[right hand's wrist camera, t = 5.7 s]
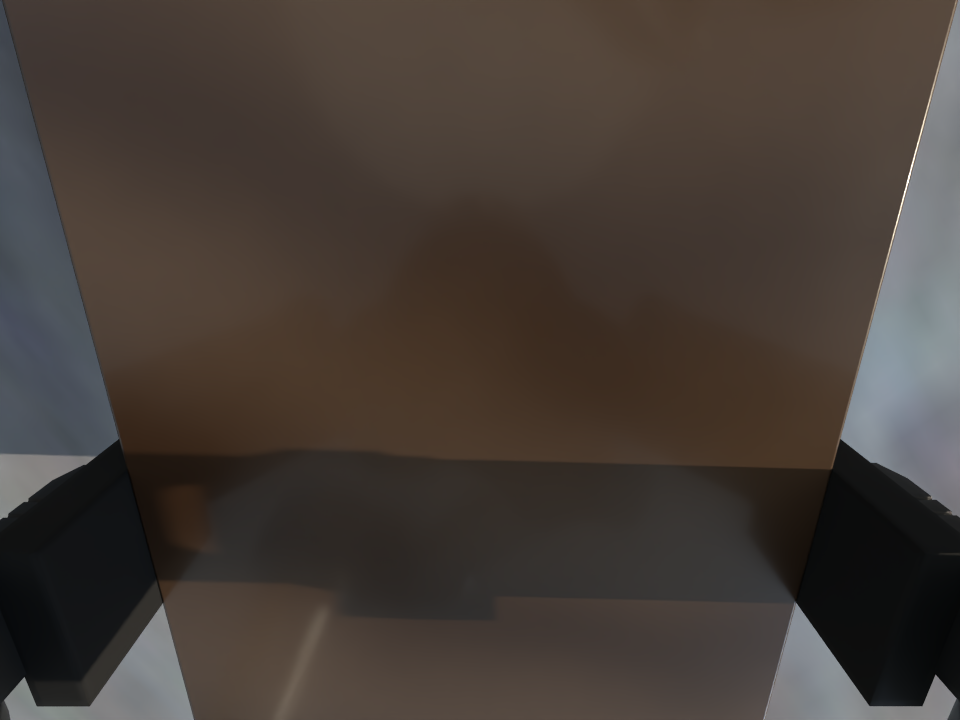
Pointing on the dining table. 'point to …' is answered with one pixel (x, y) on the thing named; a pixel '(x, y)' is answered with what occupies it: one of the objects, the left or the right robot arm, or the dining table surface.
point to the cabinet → (479, 329)
